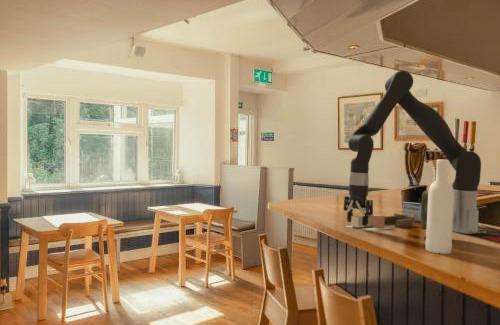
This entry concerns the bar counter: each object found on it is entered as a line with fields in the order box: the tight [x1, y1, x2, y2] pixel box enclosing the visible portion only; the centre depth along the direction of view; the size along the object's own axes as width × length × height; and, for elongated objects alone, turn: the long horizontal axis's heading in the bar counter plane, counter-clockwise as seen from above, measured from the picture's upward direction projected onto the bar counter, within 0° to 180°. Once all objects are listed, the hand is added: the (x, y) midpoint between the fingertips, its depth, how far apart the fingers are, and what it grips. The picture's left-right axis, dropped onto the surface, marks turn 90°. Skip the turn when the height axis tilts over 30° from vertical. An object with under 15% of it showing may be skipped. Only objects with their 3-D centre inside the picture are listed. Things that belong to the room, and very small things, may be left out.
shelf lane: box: [345, 213, 417, 232], centre depth 178 cm, size 11×30×4 cm, turn 119°
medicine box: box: [401, 201, 421, 223], centre depth 197 cm, size 8×4×9 cm, turn 62°
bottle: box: [424, 158, 454, 255], centre depth 138 cm, size 8×8×30 cm
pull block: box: [350, 213, 386, 230], centre depth 174 cm, size 5×14×5 cm, turn 119°
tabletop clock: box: [420, 189, 454, 241], centre depth 157 cm, size 14×9×25 cm, turn 147°
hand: (357, 223), depth 172 cm, fingers open, 8 cm apart
